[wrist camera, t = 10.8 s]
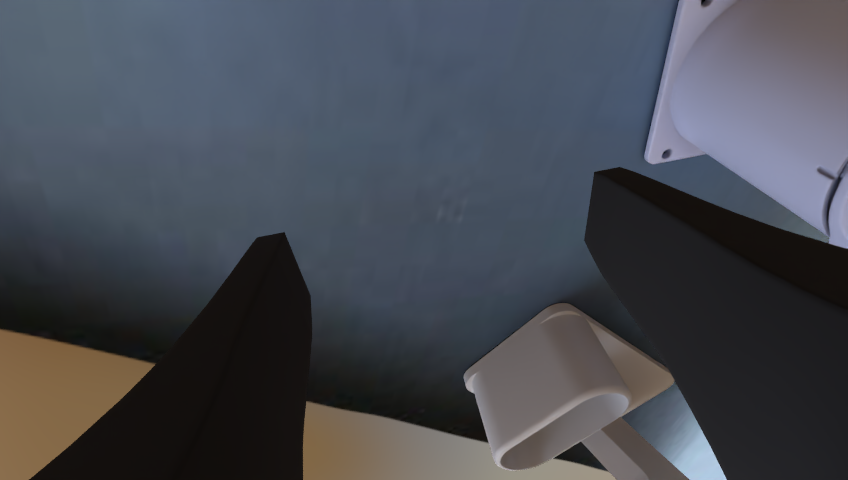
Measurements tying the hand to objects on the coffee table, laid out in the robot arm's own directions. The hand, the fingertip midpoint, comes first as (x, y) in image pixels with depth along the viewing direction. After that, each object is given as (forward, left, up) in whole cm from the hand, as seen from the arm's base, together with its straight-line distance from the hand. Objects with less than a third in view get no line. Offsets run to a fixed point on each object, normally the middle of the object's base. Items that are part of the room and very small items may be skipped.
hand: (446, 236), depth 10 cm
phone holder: (-10, +25, -11) cm, 29 cm away
